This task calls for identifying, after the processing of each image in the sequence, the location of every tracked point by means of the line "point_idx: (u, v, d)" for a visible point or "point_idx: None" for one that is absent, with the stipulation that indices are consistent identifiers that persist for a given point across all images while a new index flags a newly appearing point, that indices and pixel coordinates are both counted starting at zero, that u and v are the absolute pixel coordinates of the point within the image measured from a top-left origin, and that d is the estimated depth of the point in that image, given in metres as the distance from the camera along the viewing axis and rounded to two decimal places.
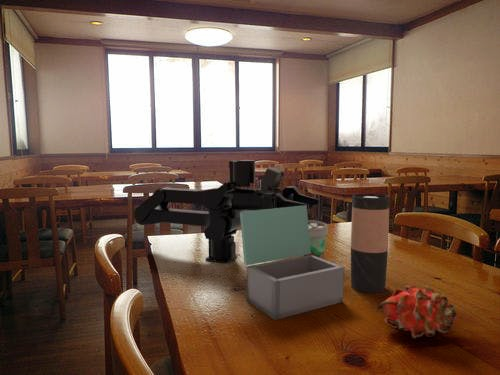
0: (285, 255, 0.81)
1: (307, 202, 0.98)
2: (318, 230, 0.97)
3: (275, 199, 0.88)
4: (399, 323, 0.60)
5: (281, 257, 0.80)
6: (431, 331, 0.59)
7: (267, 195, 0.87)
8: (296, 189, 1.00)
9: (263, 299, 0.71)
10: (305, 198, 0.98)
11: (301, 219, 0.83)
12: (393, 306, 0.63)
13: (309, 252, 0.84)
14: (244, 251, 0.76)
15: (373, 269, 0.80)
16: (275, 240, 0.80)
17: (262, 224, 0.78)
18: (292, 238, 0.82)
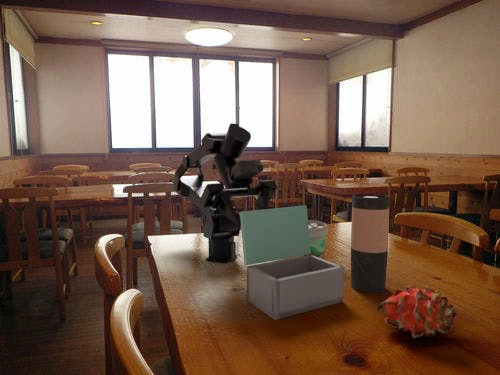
0: (285, 255, 0.81)
1: None
2: (318, 230, 0.97)
3: (216, 195, 0.88)
4: (399, 323, 0.60)
5: (281, 257, 0.80)
6: (431, 331, 0.59)
7: (209, 188, 0.87)
8: (267, 191, 0.94)
9: (263, 299, 0.71)
10: (263, 205, 0.93)
11: (301, 219, 0.83)
12: (393, 306, 0.63)
13: (309, 252, 0.84)
14: (244, 251, 0.76)
15: (373, 269, 0.80)
16: (275, 240, 0.80)
17: (262, 224, 0.78)
18: (292, 238, 0.82)
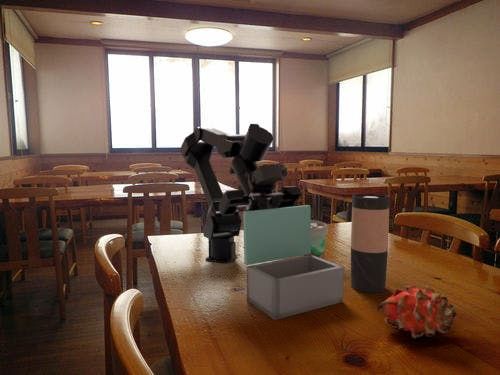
0: (285, 255, 0.81)
1: None
2: (318, 230, 0.97)
3: (253, 202, 0.81)
4: (399, 323, 0.60)
5: (281, 257, 0.80)
6: (431, 331, 0.59)
7: (228, 195, 0.79)
8: (276, 199, 0.83)
9: (263, 299, 0.71)
10: None
11: (304, 220, 0.83)
12: (393, 306, 0.63)
13: (309, 252, 0.84)
14: (245, 251, 0.76)
15: (373, 269, 0.80)
16: (276, 240, 0.79)
17: (265, 224, 0.78)
18: (294, 238, 0.81)
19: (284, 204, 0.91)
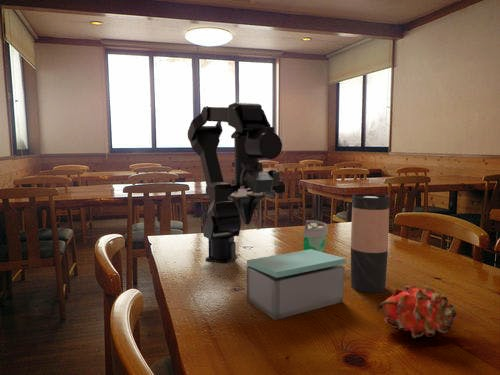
0: None
1: None
2: (318, 230, 0.97)
3: (237, 198, 0.87)
4: (399, 323, 0.60)
5: None
6: (431, 331, 0.59)
7: (216, 193, 0.84)
8: (259, 198, 0.89)
9: (263, 299, 0.71)
10: (249, 209, 0.91)
11: None
12: (393, 306, 0.63)
13: None
14: (253, 265, 0.74)
15: (373, 269, 0.80)
16: None
17: None
18: None
19: None
